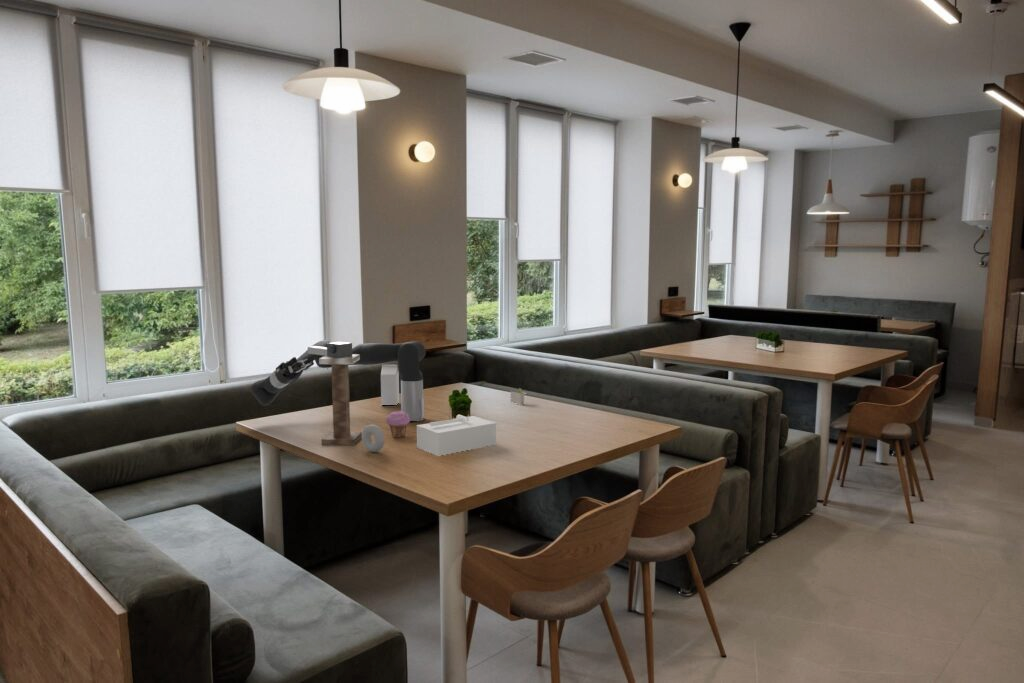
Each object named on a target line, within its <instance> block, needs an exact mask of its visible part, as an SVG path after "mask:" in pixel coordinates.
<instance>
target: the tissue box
mask: <svg viewBox="0 0 1024 683" xmlns="http://www.w3.org/2000/svg"><path fill="white" fill-rule="evenodd" d="M491 445H494V446H496V445H497V423H496V422H494V421H492V420H488V419H484V418H481V417H478V416H475V415H471V416H465V415H462V414H457V415H456V418H454V419H447V420H440V421H431V422H429V423H423V424H422V423H421V424H416V448H417V449H419V450H421V449H422V450H421V451H423V450H424V451H423V452H426V451H427V452H426V453H428V452H429V453H428V454H431V453H432V454H431V455H433V454H434V456H435V455H437V456H436V457H438V456H439V457H442V456H441V455H444V456H447V455H446V454H449V455H452V454H451V453H454V454H457V453H456V452H459V453H462V452H461V451H464V452H467V451H466V450H469V451H472V450H471V449H474V450H477V449H476V448H479V449H482V448H481V447H484V448H487V447H486V446H489V447H492V446H491Z"/></svg>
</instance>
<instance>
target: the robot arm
mask: <svg viewBox="0 0 1024 683" xmlns="http://www.w3.org/2000/svg"><path fill="white" fill-rule="evenodd" d="M327 343H332V342H331V341H329V340H325V339H324V340H323V339H322V340H319V341H317V342H315V343H314V344H313V345H312V346H319V347H327ZM426 353H427V352H426V347H425V345H423V343H421V342H420V341H416V340H412V341H411V340H410V341H407V342H402V343H380V342H378V343H376V342H371V343H370V342H369V343H367V342H366V343H359V344H357V345H355V346H354V347H352V354H360V360H358V361H357V362H355V363H354V364H348V366H370V365H371V366H372V365H382V364H385V363H390V362H397V367H398V371H399V377H400V408H401V409H400V411H403V412H405V413H406V414H408V415H409V418H410V421H417V422H423V421H422V420H424V419H425V396H424V379H423V378H424V377H423V376H424V374H423V372H422V371H421V370H420V363H419V362H421V361H422V360H423V359H424V358H425V356H426V355H427V354H426ZM322 357H324V355H316V354H308V349H307V350H306V351H305V352H303V353H302V354H301V355H299V357H298V358H297V357H296V356H293V357H291V359H290V360H287V361H286V362H283V361H282V362H280V364H279V365H277V367H275V370H274V371H273V372H272V373H271V374H270V375H269V376H268V377H266V378H264V379H260V380H257V381H255V382H253V383H252V384H251V387H250V392H251V393H252V395H253V396H254V397H255V399H256V400H257V401H258V403H259V404H260V405H261V406H269V405H270V404H271V403H273V401H274V400H275V399H276V398H277V397H278V396H279V394H280V393H281V392H283V391H284V390H285V389H286V388H288V387H290V386H291V385H293V384H294V383H296V382H297V381H298V379H300V377H301V375H302V374H303V372H304V371H307V370H308V369H309V368H311V367H312V366H314V364H316V365H317V367H318V368H322V369H329V368H332V365H331V364H319V359H320V358H322ZM314 361H315V362H314ZM423 418H424V419H423Z"/></svg>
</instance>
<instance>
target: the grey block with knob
mask: <svg viewBox="0 0 1024 683" xmlns="http://www.w3.org/2000/svg"><path fill="white" fill-rule="evenodd" d="M352 349H353V342H345V341H333V342H331V343H327V347H319V346H313V345H311V346H307V350H308V354H316V355H324V356H327V357H334V358H345V357H352Z"/></svg>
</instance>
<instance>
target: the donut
mask: <svg viewBox="0 0 1024 683" xmlns="http://www.w3.org/2000/svg"><path fill="white" fill-rule="evenodd" d="M361 432H362V437H361V441H362V444H363V446H364V447H365V449H366V450H368V452H372V453H377V452H380V451H381V450H382V449H383V448H384V446H385V441H386V438H385V434H384V432H383V430H382V429H381V427H380V426H378V425H376V424H367V425H366V426H365V427H363V429H362V431H361ZM372 435H373V436H374V441H373V439H372Z"/></svg>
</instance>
